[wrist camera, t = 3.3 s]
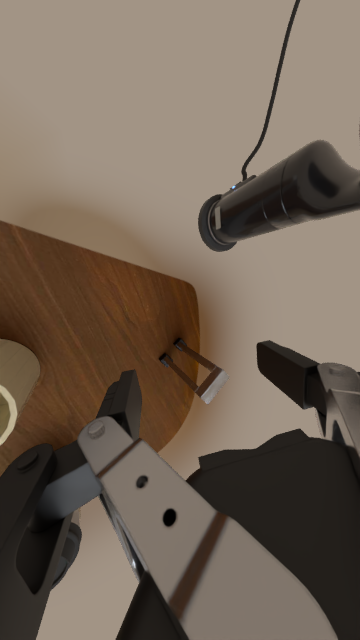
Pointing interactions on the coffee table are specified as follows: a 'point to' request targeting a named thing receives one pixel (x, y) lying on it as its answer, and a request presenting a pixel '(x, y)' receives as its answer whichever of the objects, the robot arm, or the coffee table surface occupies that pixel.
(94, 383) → the coffee table surface
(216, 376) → the tongs
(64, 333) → the coffee table surface
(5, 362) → the crock
